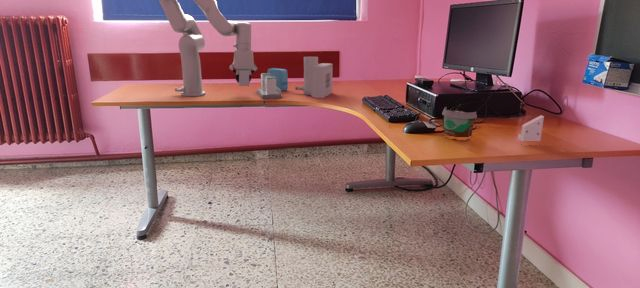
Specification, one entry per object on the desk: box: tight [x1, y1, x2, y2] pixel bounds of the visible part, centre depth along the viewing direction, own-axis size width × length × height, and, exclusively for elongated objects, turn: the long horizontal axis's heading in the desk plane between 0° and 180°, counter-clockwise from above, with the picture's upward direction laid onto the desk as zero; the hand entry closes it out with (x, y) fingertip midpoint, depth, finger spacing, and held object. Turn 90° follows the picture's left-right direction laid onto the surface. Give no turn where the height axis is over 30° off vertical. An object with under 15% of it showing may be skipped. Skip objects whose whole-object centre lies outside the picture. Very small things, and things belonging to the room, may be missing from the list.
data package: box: [267, 67, 289, 92], centre depth 250 cm, size 12×4×12 cm, turn 48°
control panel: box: [295, 56, 334, 99], centre depth 234 cm, size 16×19×20 cm
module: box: [237, 69, 250, 87], centre depth 229 cm, size 5×8×8 cm, turn 16°
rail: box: [256, 72, 282, 100], centre depth 233 cm, size 10×20×11 cm, turn 16°
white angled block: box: [517, 114, 545, 142], centre depth 145 cm, size 4×10×9 cm
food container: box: [441, 106, 478, 137], centre depth 151 cm, size 12×6×10 cm, turn 44°
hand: (243, 81), depth 229 cm, fingers closed on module, 5 cm apart
